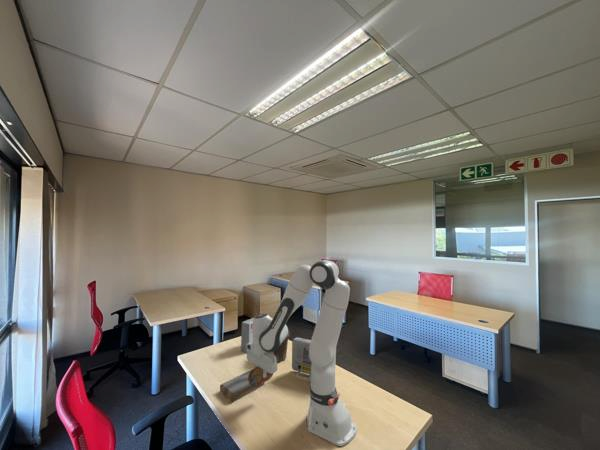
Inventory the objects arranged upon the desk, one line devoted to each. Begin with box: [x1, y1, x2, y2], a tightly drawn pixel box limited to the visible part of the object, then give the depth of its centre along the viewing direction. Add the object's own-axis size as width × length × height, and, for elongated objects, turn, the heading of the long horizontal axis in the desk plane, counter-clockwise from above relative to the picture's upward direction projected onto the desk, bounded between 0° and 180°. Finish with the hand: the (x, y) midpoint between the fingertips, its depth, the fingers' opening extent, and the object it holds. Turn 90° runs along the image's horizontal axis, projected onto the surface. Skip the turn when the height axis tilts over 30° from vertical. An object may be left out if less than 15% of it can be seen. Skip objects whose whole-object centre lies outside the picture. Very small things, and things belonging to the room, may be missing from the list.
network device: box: [291, 337, 312, 382], centre depth 145 cm, size 26×9×20 cm, turn 65°
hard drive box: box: [240, 316, 256, 353], centre depth 181 cm, size 16×8×20 cm, turn 147°
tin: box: [248, 366, 274, 387], centre depth 124 cm, size 15×3×8 cm, turn 137°
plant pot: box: [273, 331, 290, 363], centre depth 167 cm, size 16×16×16 cm
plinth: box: [219, 369, 265, 403], centre depth 134 cm, size 12×20×4 cm, turn 137°
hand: (261, 375), depth 123 cm, fingers closed on tin, 2 cm apart
